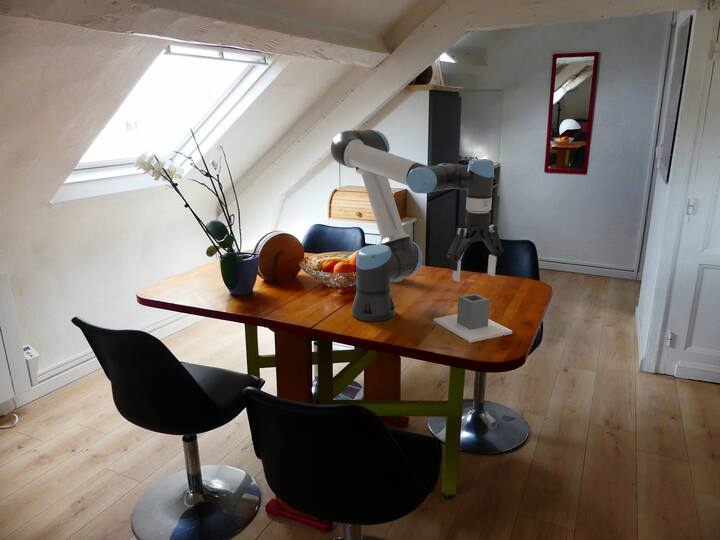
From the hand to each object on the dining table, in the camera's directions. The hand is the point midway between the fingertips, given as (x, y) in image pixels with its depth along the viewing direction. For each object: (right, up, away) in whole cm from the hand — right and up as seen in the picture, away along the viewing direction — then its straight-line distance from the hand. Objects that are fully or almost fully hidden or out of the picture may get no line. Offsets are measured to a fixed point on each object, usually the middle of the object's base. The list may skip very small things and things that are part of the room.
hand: (473, 277), depth 173 cm
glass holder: (-23, -1, +60) cm, 64 cm away
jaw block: (0, -15, +4) cm, 16 cm away
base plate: (0, -16, +4) cm, 17 cm away
